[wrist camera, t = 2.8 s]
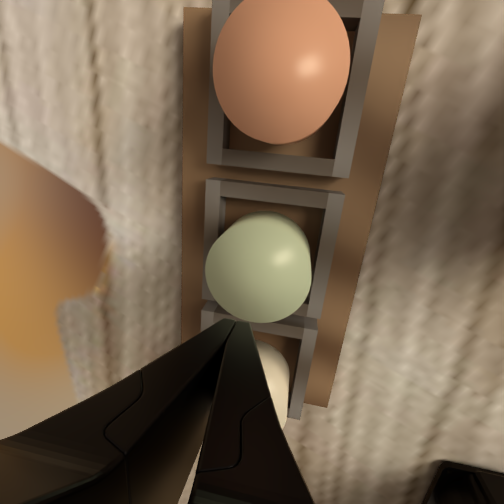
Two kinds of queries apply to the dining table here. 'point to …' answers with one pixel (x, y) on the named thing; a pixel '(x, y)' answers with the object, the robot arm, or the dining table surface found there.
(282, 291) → the sage green rounded piece
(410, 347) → the dining table surface
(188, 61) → the brown compartment tray
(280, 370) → the cream button
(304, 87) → the terracotta button
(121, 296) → the dining table surface
